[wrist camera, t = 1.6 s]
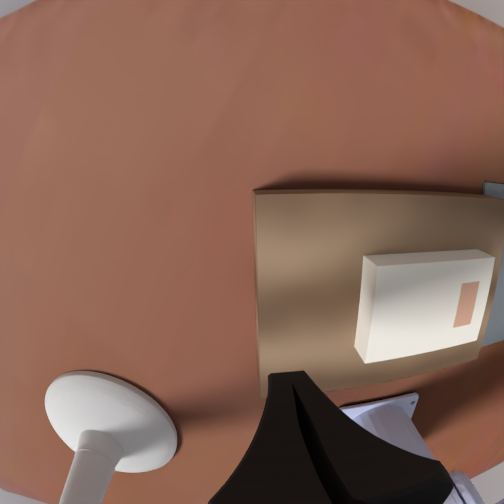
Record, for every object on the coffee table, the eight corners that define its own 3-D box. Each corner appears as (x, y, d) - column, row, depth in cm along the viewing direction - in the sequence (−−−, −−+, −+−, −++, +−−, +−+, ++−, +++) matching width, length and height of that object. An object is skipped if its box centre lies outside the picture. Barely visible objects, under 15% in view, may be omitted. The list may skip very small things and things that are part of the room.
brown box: (458, 342, 24) (476, 359, 21) (257, 372, 23) (260, 397, 20) (482, 194, 20) (507, 199, 17) (252, 190, 19) (255, 194, 16)
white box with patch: (476, 249, 18) (495, 257, 16) (461, 327, 20) (476, 340, 18) (363, 255, 18) (377, 266, 16) (354, 346, 19) (364, 363, 17)
